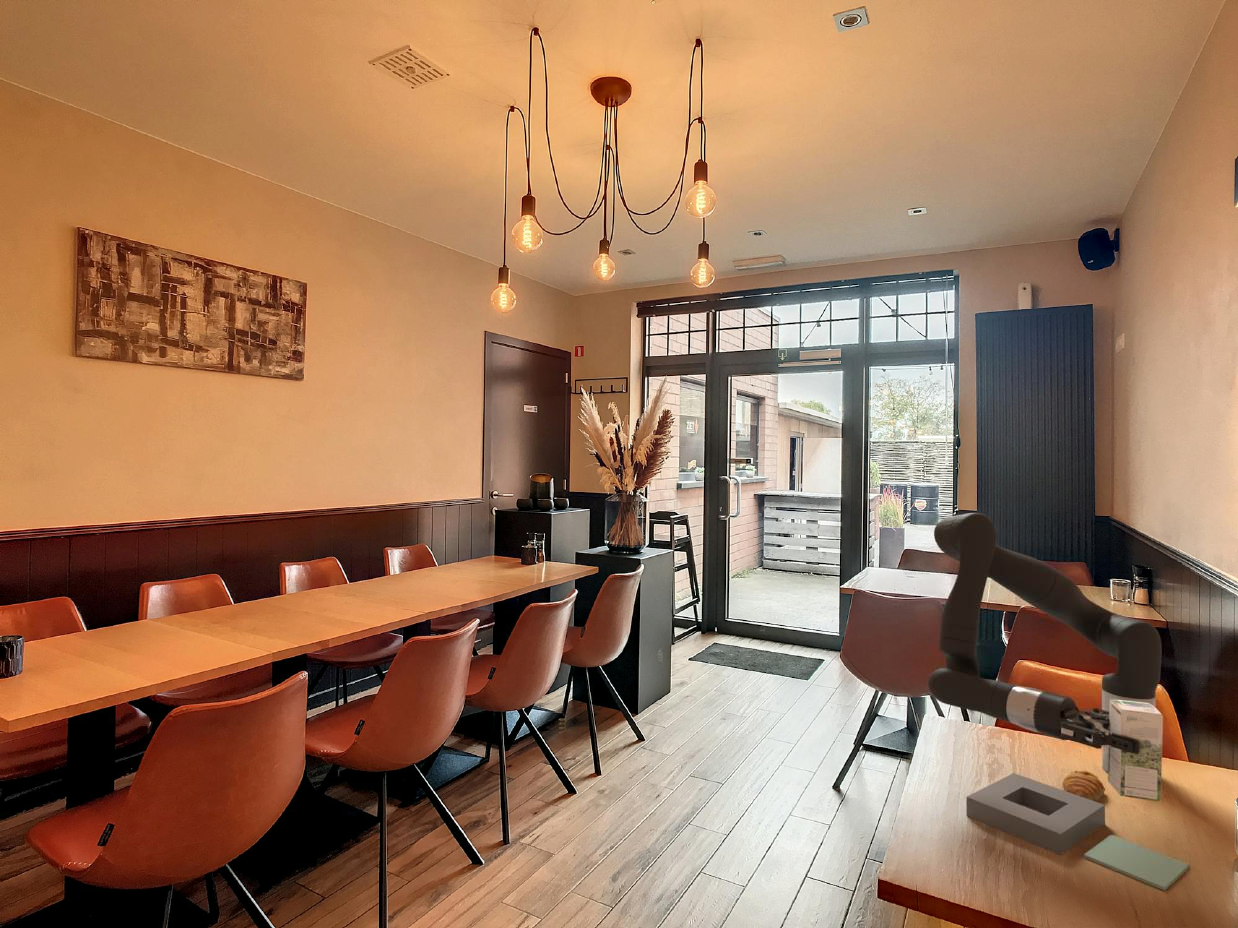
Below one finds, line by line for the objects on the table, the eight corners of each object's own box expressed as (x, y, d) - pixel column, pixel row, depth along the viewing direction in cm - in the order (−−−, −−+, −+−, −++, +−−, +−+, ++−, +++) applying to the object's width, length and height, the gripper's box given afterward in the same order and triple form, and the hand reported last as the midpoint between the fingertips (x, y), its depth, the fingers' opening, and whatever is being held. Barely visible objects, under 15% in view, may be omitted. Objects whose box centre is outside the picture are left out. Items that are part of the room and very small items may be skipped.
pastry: (1097, 809, 130) (1097, 789, 130) (1056, 798, 135) (1056, 779, 135) (1106, 793, 137) (1105, 774, 137) (1066, 783, 141) (1066, 764, 141)
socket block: (1013, 790, 137) (1013, 772, 137) (1105, 823, 124) (1104, 804, 124) (966, 815, 127) (966, 796, 127) (1060, 854, 114) (1060, 833, 114)
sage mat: (1110, 837, 120) (1110, 834, 120) (1189, 867, 111) (1189, 864, 111) (1084, 857, 113) (1083, 854, 113) (1164, 890, 104) (1164, 887, 104)
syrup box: (1147, 787, 114) (1148, 701, 114) (1162, 803, 108) (1163, 712, 109) (1107, 781, 116) (1108, 696, 116) (1120, 797, 110) (1121, 707, 110)
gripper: (1022, 698, 120) (1132, 727, 107) (1059, 684, 128) (1165, 710, 115) (1022, 740, 120) (1131, 775, 107) (1058, 724, 128) (1165, 754, 115)
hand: (1149, 741), depth 111 cm, fingers closed on syrup box, 7 cm apart
